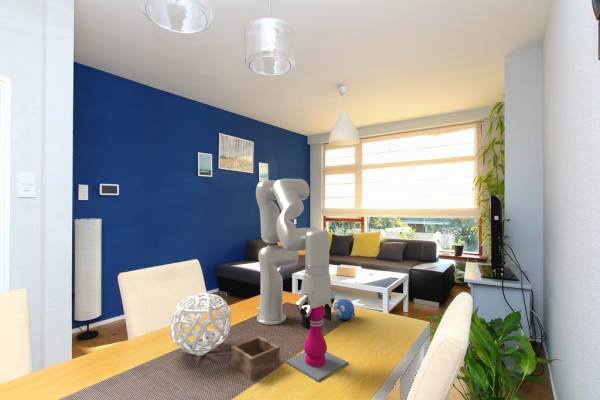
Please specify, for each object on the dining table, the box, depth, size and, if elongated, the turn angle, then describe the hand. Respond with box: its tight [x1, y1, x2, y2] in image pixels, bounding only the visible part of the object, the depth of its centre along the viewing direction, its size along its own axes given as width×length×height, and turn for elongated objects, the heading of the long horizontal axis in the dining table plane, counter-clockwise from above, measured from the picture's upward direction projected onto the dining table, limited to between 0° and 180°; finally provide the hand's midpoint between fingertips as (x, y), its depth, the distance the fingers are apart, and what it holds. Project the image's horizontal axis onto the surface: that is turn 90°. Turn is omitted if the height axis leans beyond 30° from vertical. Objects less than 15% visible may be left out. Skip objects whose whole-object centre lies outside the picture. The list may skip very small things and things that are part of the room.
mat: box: [285, 351, 349, 382], centre depth 96 cm, size 14×14×1 cm
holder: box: [230, 336, 281, 381], centre depth 95 cm, size 11×11×6 cm
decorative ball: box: [169, 292, 232, 357], centre depth 104 cm, size 20×20×19 cm
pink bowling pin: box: [303, 305, 328, 367], centre depth 96 cm, size 7×7×20 cm
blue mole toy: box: [331, 298, 356, 320], centre depth 132 cm, size 12×12×8 cm
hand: (316, 323), depth 97 cm, fingers open, 9 cm apart
